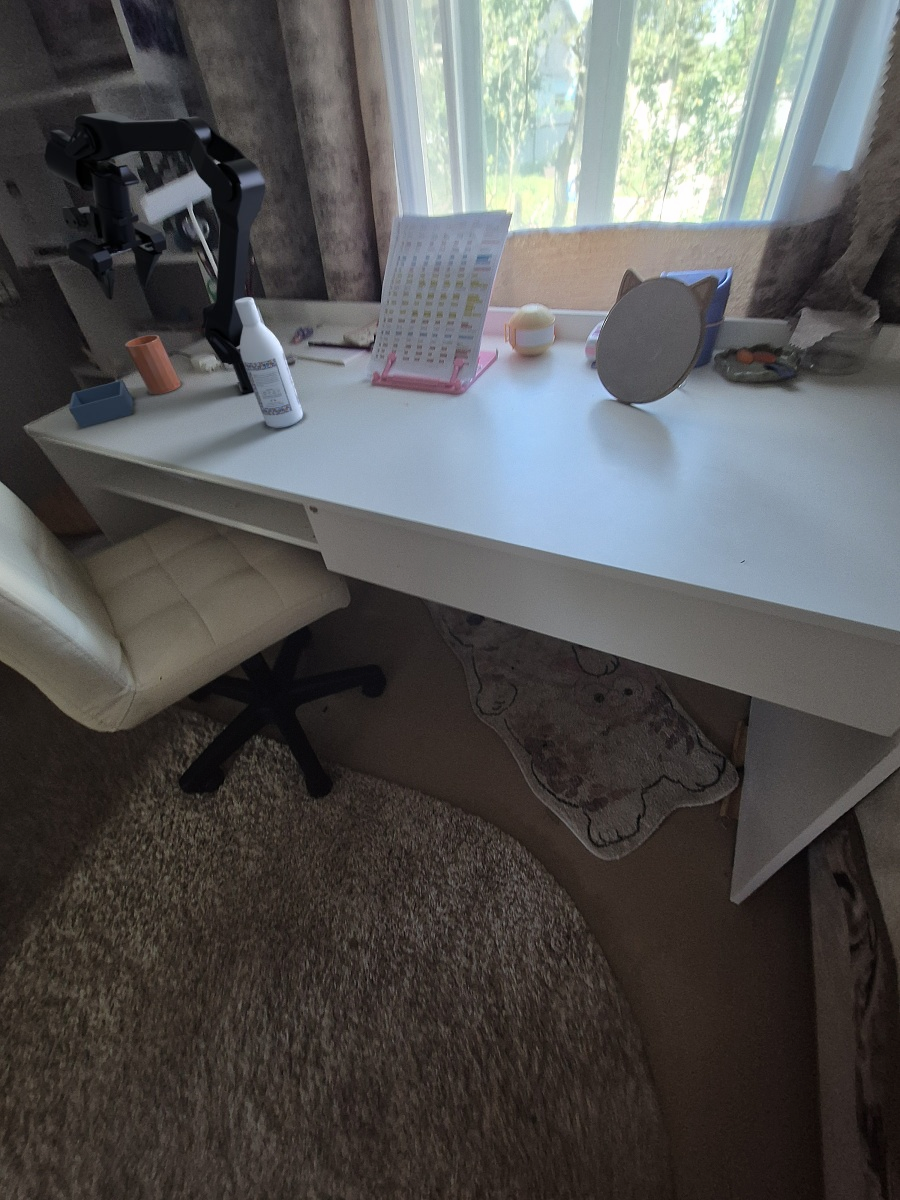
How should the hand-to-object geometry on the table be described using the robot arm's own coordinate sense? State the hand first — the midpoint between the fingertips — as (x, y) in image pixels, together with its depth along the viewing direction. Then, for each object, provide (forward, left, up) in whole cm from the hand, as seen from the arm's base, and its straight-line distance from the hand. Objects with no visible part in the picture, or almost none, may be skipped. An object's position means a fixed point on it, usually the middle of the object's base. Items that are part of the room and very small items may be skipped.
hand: (126, 291), depth 106 cm
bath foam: (-39, -19, -19) cm, 47 cm away
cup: (-3, +1, -18) cm, 19 cm away
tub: (-9, +13, -18) cm, 24 cm away
